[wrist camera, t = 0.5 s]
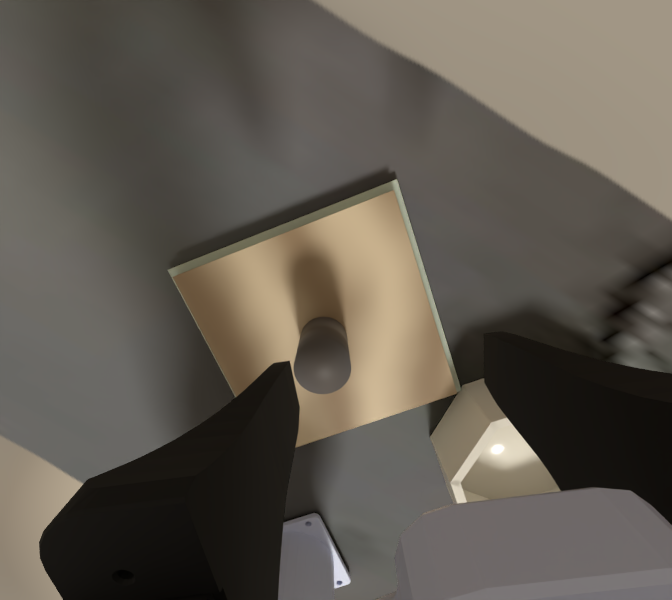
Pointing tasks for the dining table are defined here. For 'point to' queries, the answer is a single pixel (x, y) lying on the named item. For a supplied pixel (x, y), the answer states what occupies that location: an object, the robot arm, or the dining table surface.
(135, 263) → the dining table surface
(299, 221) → the mat
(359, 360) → the lid
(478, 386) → the bowl
